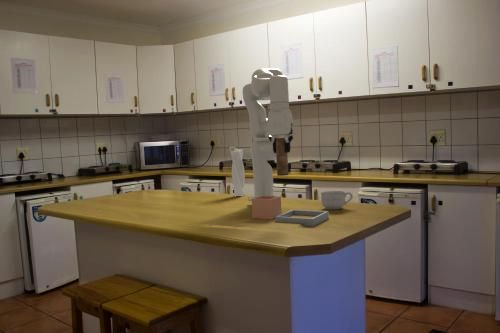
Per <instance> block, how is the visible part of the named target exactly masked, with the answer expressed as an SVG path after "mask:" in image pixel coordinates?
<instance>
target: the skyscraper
mask: <svg viewBox="0 0 500 333" xmlns="http://www.w3.org/2000/svg"><path fill="white" fill-rule="evenodd" d="M232 149H234V150H232ZM229 151H230V155H231V159H232V164H231V180H232V186H233V187H232V188H233V192H234V193H233V197H236V196H241V197H245V196H246V194H245V193H244V189H245V183H246V182H245V181H246V180H245V178H246V177H245V176H246V174H245V166H244V161H243V158H244V157H243V156H244V149H243V148H242V149H241V148H236V147H234V146H230V147H229ZM236 198H237V197H236Z"/></svg>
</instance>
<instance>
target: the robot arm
mask: <svg viewBox="0 0 500 333" xmlns="http://www.w3.org/2000/svg"><path fill="white" fill-rule="evenodd" d="M288 80H289V79H288V77H287V76H286V75H284V74H283V72H282V70H280V69H279V68H258V69H256V70H255V71H253V73H252V74H251V82H249V83H247V84H245V85H244V86H243V88H242V97H243V98H242V99H243V102H244V105H245V107H246V110H247V112H248V117H249V118H248V119H249V125H250V126H249V127H250V133H251V137H252V138H253V139H254V140H257V141H254V142H252V143H251V144H250V147H249V151H250V156H251V163H252V174H253V175H252V177H253V196H248V198H247V201H248V202H252V198H256V197H259V196H275V192H274V175H273V174H274V170H273V168H272V166H271V165H270V163H268V161H275V160H276V161H277V159H276V138H285V141H286V143H285V153H287V154H288V153H291V143H292V141H293V140H294V138H296V136H298V132H297V130H296V129H295V128H294V120H293V114H292V110H291V109H290V101H289V100H290V99H289V96H290V94H289V81H288ZM258 101H269V102H270V103H269V104H268V105H267V109H268V113H267V111H266V108H265V107H264V106H263V105H262V104H261V103H260V102H258ZM267 139H268V140H267Z"/></svg>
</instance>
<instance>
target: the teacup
mask: <svg viewBox="0 0 500 333" xmlns="http://www.w3.org/2000/svg"><path fill="white" fill-rule="evenodd" d="M347 195H350V196H349V199H348V200H346V198H347ZM320 196H321V197H320V198H321V205H322V206H323V208H325V210H340V209H342V208H344V206H346V205H347V204H348V203H349V202H351V201H352V199H353V197H354V196H353V193H352V192H350V191H344V190H328V191H327V190H326V191H321V192H320Z"/></svg>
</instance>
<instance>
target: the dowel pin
mask: <svg viewBox="0 0 500 333" xmlns="http://www.w3.org/2000/svg"><path fill="white" fill-rule="evenodd" d="M285 143H286V141H285V138H276V159H277V160H276V175H277V176H278V177H279V176H280V177H282V176H283V177H284V176H289V163H288V162H289V160H288V159H289V158H288V153H285Z"/></svg>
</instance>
